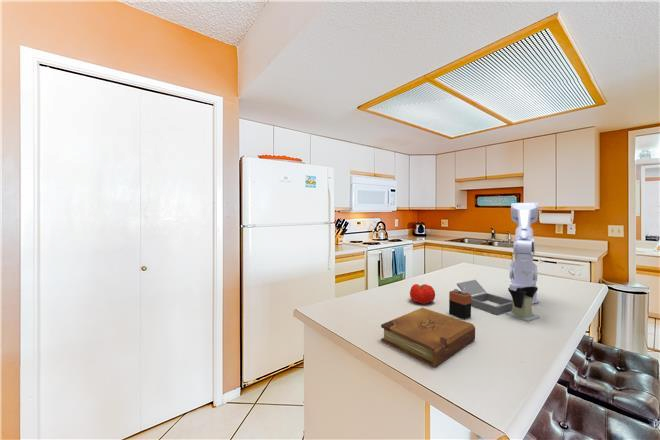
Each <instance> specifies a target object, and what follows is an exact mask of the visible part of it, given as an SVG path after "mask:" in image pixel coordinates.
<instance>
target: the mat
mask: <svg viewBox="0 0 660 440" xmlns="http://www.w3.org/2000/svg"><path fill="white" fill-rule="evenodd" d="M505 315H507V316H511V317H513V318H516V319H519V320H522V321H525V322H531V321H534V320H536V319H539V318H541V316H540V315H537V314H533V313H532V315H531V316H528V317H525V318H524V317H521V316H518V315H515V314H512V310H511V311H508V312H505Z"/></svg>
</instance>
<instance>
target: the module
mask: <svg viewBox="0 0 660 440" xmlns="http://www.w3.org/2000/svg"><path fill="white" fill-rule="evenodd" d="M511 298H512V297H511ZM532 305H533V304H532V297H528V296H526V295H525V296H524V299H523V305H522V308H517V307H515V306H514V302H513V298H512V310H511V311H512V314H515V315H518V316H521V317H524V318H525V317H528V316H531V315H532V314H533V312H532V311H533V310H532V309H533V306H532Z"/></svg>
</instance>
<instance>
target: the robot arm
mask: <svg viewBox="0 0 660 440" xmlns="http://www.w3.org/2000/svg"><path fill="white" fill-rule="evenodd" d="M510 205H511V206H510V217H511V221H512V222H514V223H516V225H517V227H516V229H515V231H514V232H515V233H514V234H515V238H514V240H513V250H512V251H513V257H514V258H513V259H514V260H512V261H510V264H509V279H510V282H511V283H510V284H509V287H508V288H507V290H508V292H509V294H510V296H511V297H510V298H509V299H510V300H512V298H513V302H514V306H515V307H517V308H522V305H523V299H524V296H525V295H526V296H528V297H532V305H534V304H536V303H539V302H540V301H539V300H537V298H538V296H537V295H538V293H537V292H538V290H539V287H538V286H537V282H538V266H537V264H536V263H535V262H534V256H535V254H536V253H535V252H536V243H535V239H534V229H533V228H532V224H535V223H537V221H538V218H539V217H538V216H539V210H540V209H539V208H540V206H539V203H538V202H537V201H536V202H515V203H514V202H512V203H511V204H510Z"/></svg>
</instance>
